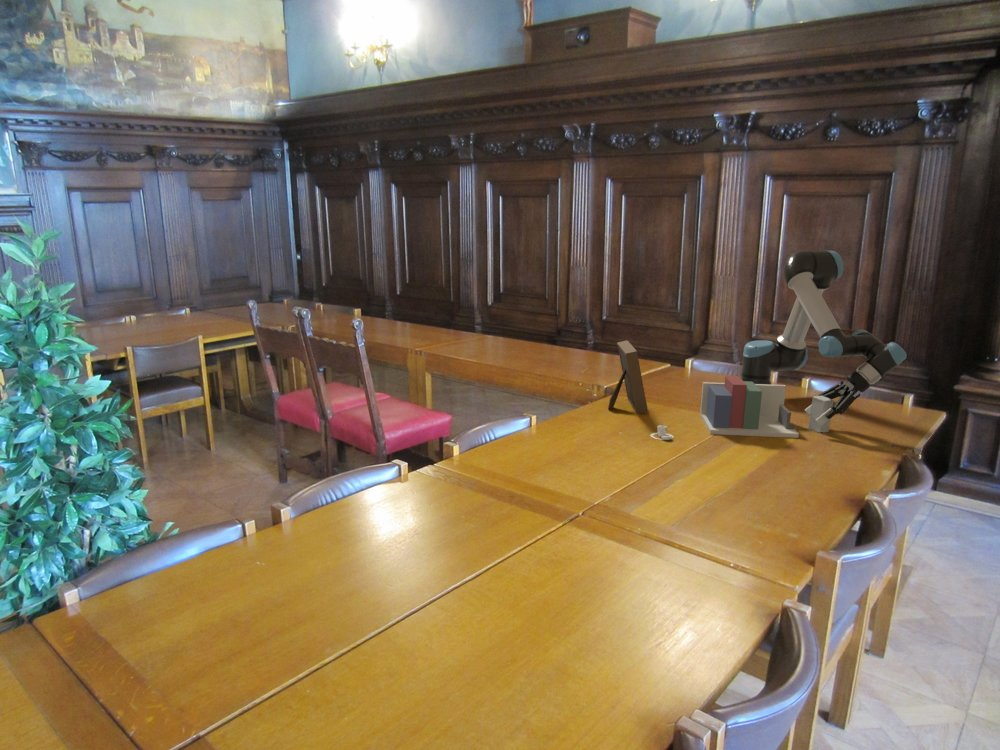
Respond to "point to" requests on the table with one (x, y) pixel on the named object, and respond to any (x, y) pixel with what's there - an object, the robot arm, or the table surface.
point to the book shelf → (765, 413)
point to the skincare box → (819, 413)
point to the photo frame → (630, 378)
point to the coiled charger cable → (662, 433)
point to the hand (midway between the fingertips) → (812, 417)
